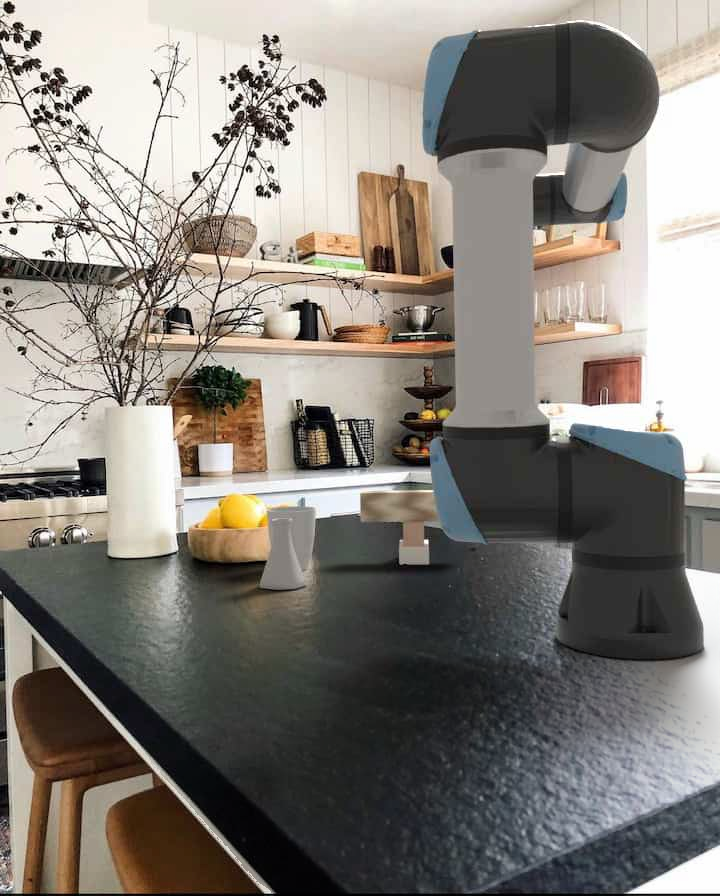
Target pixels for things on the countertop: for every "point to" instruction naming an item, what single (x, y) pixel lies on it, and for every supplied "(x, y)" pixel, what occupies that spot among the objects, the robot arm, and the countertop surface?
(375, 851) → the countertop surface
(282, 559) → the flask
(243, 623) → the countertop surface
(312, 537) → the cup
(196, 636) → the countertop surface
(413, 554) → the block
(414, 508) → the bar
